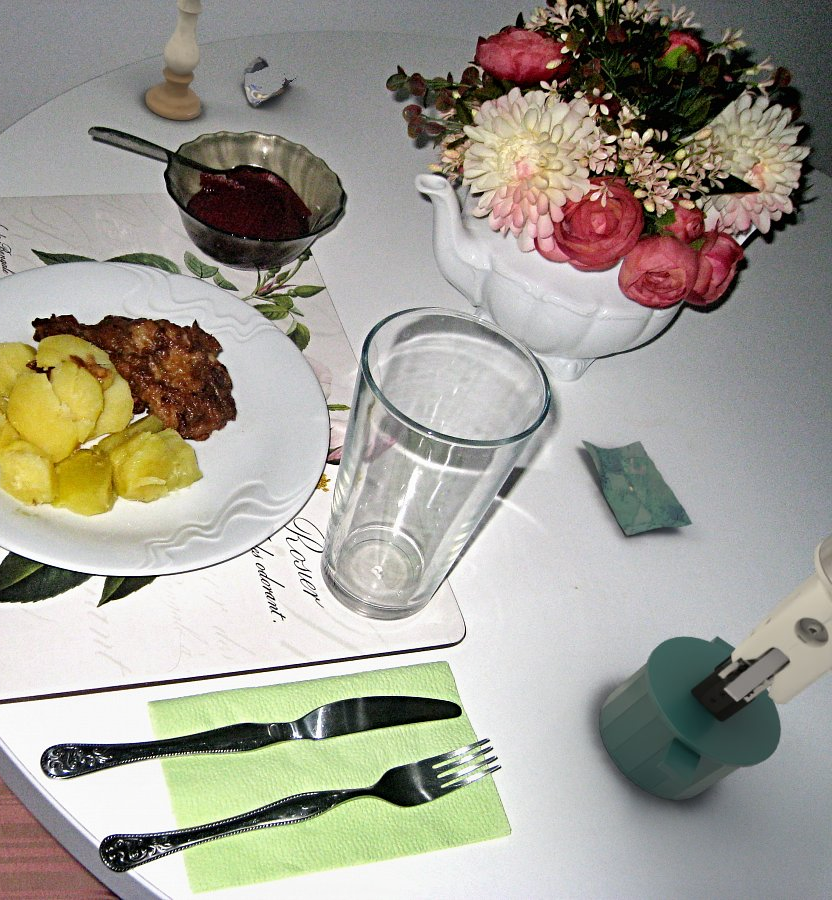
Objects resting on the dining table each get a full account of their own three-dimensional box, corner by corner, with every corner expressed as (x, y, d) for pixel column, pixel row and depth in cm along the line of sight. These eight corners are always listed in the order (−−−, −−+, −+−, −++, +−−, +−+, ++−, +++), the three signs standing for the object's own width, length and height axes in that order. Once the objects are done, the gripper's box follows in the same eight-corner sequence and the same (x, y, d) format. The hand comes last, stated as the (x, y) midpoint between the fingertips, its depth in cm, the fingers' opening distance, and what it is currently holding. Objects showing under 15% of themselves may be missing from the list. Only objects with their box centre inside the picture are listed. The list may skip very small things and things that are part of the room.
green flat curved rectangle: (685, 534, 99) (694, 524, 98) (623, 538, 97) (632, 527, 96) (632, 447, 107) (640, 436, 106) (575, 449, 105) (582, 438, 104)
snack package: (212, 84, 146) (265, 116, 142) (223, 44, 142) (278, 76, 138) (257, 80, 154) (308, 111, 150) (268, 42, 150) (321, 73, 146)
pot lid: (785, 701, 77) (839, 664, 72) (752, 800, 70) (810, 767, 65) (664, 619, 80) (709, 578, 75) (622, 705, 73) (668, 667, 68)
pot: (730, 719, 84) (789, 677, 78) (680, 850, 75) (744, 814, 68) (631, 649, 87) (681, 604, 81) (571, 766, 78) (622, 725, 71)
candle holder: (178, 87, 142) (201, -48, 128) (212, 115, 139) (239, -20, 124) (133, 96, 138) (151, -43, 123) (167, 125, 134) (190, -14, 119)
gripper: (883, 673, 55) (705, 786, 68) (977, 563, 63) (802, 683, 77) (778, 581, 58) (628, 706, 71) (880, 489, 66) (729, 616, 80)
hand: (719, 693), depth 74 cm, fingers closed on pot lid, 3 cm apart
